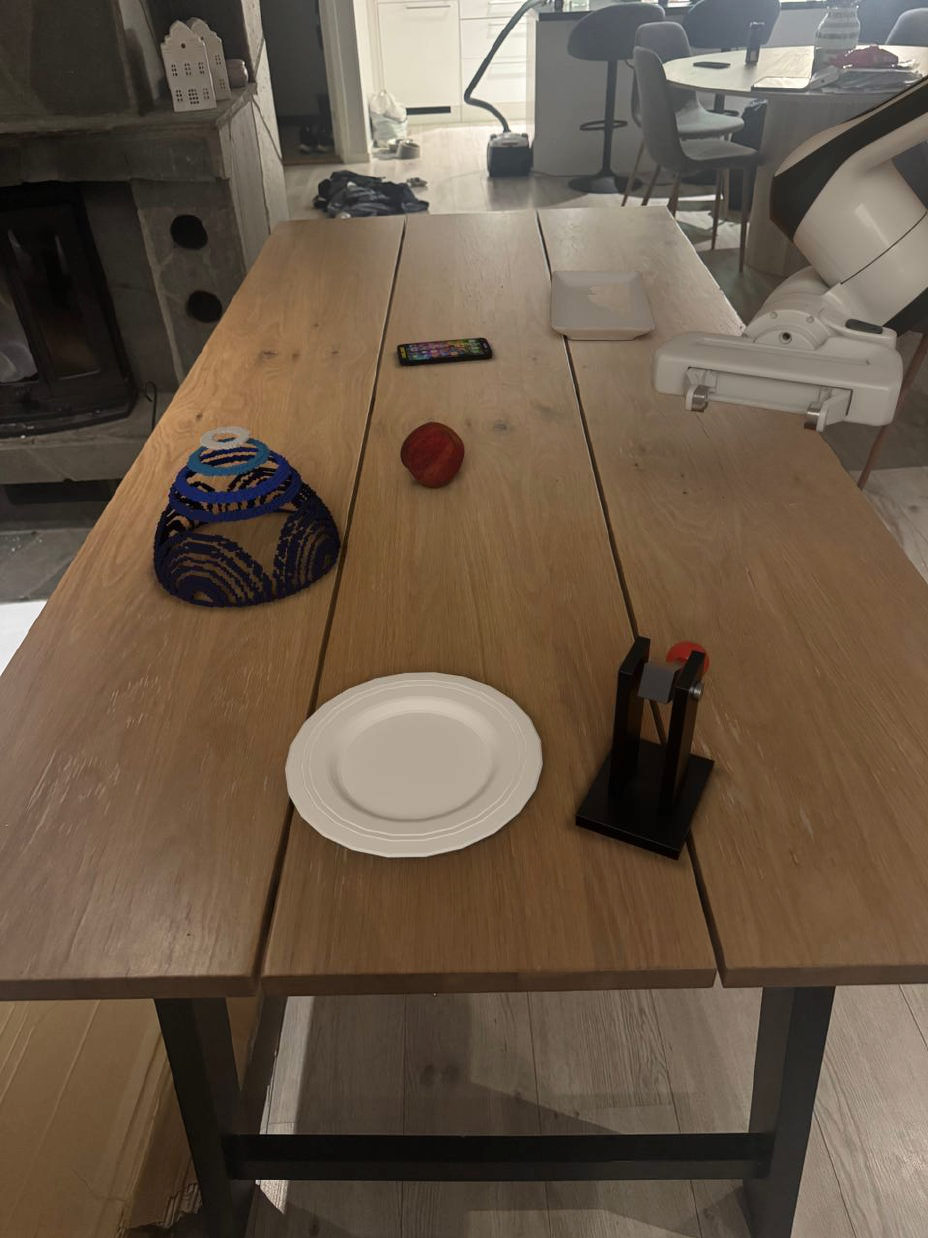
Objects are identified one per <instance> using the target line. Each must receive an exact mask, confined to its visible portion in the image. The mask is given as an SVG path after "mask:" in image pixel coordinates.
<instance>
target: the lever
mask: <svg viewBox="0 0 928 1238" xmlns="http://www.w3.org/2000/svg"><path fill="white" fill-rule="evenodd" d="M692 650H696V651H700V652H703V653H706V656H705V663H704V669H703V676H702V678H703V677H704V676H706V674H707V672H708V670H709V667H710V658H709V657H710V656H709V654H708V652H707V650H706V649H705V648H704V647H703V645H701V644H700V643H698V642H696V641H694V640H682V641H679V642H676V643H675V644H673V645H672V646H671V647H670V648H669V649H668V652H667V654H666V658H665V661H664V660H661V659H657V658H652V659H650V660H649V661H648V662H647V663H645V664H644V667H643V672H642V676H641V680H640V685H639V689H638V693H637V696H638V697H641V698H644V700H645V699H646V700H649V701H652V702H656V703H659V704H663V705H669V704H670V703H671V702H673V694H674V687H675V684H676V682H677V680H678V678H679V676H680V674H681V672H682V670H683V668H684V666H685V664H686V662H687V660H688V658H689V655H690V653H691V651H692Z"/></svg>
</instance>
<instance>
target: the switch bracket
mask: <svg viewBox="0 0 928 1238" xmlns="http://www.w3.org/2000/svg"><path fill="white" fill-rule="evenodd" d="M651 640H652V639H651V638H649V637H645V636H641V635H637V636H636V638H635V640H634V641H633V644H632V646H631V647H630V649H629V650H628V652H627V654H626V656H625V658H624V659H623V660H621V661H620V663H619V665H618V667H617V669H616V689H615V690H616V691H615V701H614V702H615V704H614V715H613V726H612V727H613V728H612V738H611V747H610V749H609V751H608V753H607V755H606V757H605V758H604V761H603V763H602V765H600V769H599V770H598V772H597V774H596V776H595V777H594V779H593V781H592V784H591V785H590V787H589V789H588V792H587V793H586V795H585V796H584V799H583V801H582V802H581V805H580V806H579V808H578V810H577V812H576V814H575V826H577V827H580V828H582V829H586V830H587V831H592V832H594V833H597V834H600V835H603V836H604V837H608V838H611V839H613V840H617V841H620V842H622V843H626V844H628V845H630V846H634V847H637V848H640V849H641V850H642V849H643V850H645V851H648V852H651V853H653V854H657V855H660V856H662V857H664V858H665V857H666V858H668V859H671V860H674V861H677V862H678V861H679V859H680V857H681V854H682V851H683V849H684V846H685V844H686V841H687V838H688V836H689V834H690V831H691V829H692V827H693V824H694V820H695V818H696V815H697V813H698V812H699V811H698V810H699V808H700V806H701V802H702V801H703V798H704V795H705V792H706V790H707V788H708V785H709V782H710V780H711V778H712V775H713V773H714V767H715V762H716V760H714V759H711V758H707V757H704V756H700V755H698V754H694V753H691V752H692V746H693V740H694V733H695V726H696V721H697V713H698V709H699V708H698V707H699V703H700V702H701V700H702V697H703V695H704V691H705V685H706V684H705V682H703V677H704V676H703V669H704V663H705V656H706V653H703V652H700V651H696V650H692V651H691V653H690V655H689V658H688V660H687V662H686V664H685V666H684V668H683V670H682V672H681V674H680V676H679V678H678V680H677V682H676V684H675V687H674V694H673V700H672V701H671V702H672V703H671V710H670V711H671V712H670V717H669V719H670V720H669V724H668V726H669V727H668V732H667V741H666V745H665V744H661V743H658V742H655V741H652V740H648V739H644V738H641V735H642V725H643V716H644V707H645V706H644V705H645V698H641V697H638V696H637V693H638V689H639V685H640V680H641V676H642V672H643V667H644V664H645V663H647V662H649V661H650V660H649V659H650V651H651V642H652V641H651ZM702 676H703V677H702Z"/></svg>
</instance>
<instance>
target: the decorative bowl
mask: <svg viewBox="0 0 928 1238" xmlns="http://www.w3.org/2000/svg"><path fill="white" fill-rule="evenodd" d="M222 434H224V435H225V434H226V435H227V434H234V435H235V436H237V437H235V436H231V437H227V438H224V439H221V438H219V439H218V440H214V438H215V437H217V436H218V435H222ZM251 436H252V431H251V430H248V429H247V428H245V427H243V426H236V425H230V426H225V427H223V426H217V427H216V428H215V429H211V430H208V431H206V432H205V433H204V434H203V435H201V436H200V440H199V445H200V446H199V447H198V448H197V449H196V450H195V451H194V452H192V453H191V454H190V455H189V456H188V458H187V460H188V461H186V463H185V464H186V465H185V466H183V467H182V468H181V469H180V470H179V471H178V472H177V474H176V476H175V481H174V482H172V483H171V486H170V487H169V493H168V494H167V497H168V503H167V505H166V506H165V509H164V510H162V511H161V513H160V514H161V515H160V518H159V521H157V526H156V529H155V532H154V537H153V540H154V541H153V545H152V548H153V553H152V555H153V559H152V561H153V562H152V563H153V569H154V572H155V576H156V578H157V581H158V583H159V584H161V587H162V588H163V590H165V591H166V592H168V593H169V595H170V596H175V597H176V598H177V599H182V601H184V602H188V603H189V604H191V605H196V606H202V607H207V608H214V607H216V608H221V609H223V608H225V607H226V608H232V607H235V608H241V609H242V608H243V607H244V608H245V607H246V606H248V607H252V606H258V605H261V604H265V603H269V604H270V603H271V602H272V603H273V602H274V601H275V600H281V599H285V598H286V597H289V596H293V595H296V594H297V593H298V592H299V593H301V591H302V590H305V589H308V588H309V587H310V586H311V585H312V584H315V583H317V581H318V580H320V581H321V579H322V577H323V576H324V575H328V573H329V572H330V571H331V569H332V568H333V567H334V566H335V564H337V562H338V561H337V559H338V557H339V553H340V550H341V548H342V543H341V540H340V532H339V530H338V526H337V524H336V522H335V519H334V515H332V513H331V510H330V509H329V507H328V506H327V505H326V503H325V502H323V499H322V498H321V497H319V496H318V494H317V491H316V490H314V489H312V487H311V486H310V485H309V483H306V482H304V481H303V479H302V475H301V473H299V471H298V470H297V469H296V467H294V466H292V465H291V464H290V462H289V461H288V459H286V457H285V456H283V454H279V453H278V452H275V451H273V449H270V448H269V447H268V445H267V444H266V442H263V441H260V440H259V439H254V437H251ZM244 444H248V445H252V447H251V446H243V445H244ZM209 449H211V451H210V452H207V453H204V452H206V451H208V450H209ZM235 453H240V454H235ZM242 453H248V454H242ZM250 453H251V454H250ZM252 453H255V454H252ZM228 454H229V455H228ZM231 454H232V455H231ZM223 455H227V456H223ZM230 455H231V456H230ZM219 456H223V457H219ZM215 457H219V458H216V459H214V458H215ZM208 459H210V460H209V461H204V460H208ZM235 462H240V463H239V464H235V465H231V466H230V465H229V466H228V467H227V466H222V465H225V464H228V463H229V464H234V463H235ZM267 462H271V463H272V464H275V465H278V466H276V468H274V467H273V468H272V467H266V466H261V465H264V464H266V463H267ZM197 474H199V475H202V476H203V477H210V478H213V477H220V478H221V477H230V476H234V478H233V479H232V481H231V482H230V483H229V484H228V485H227V488H226V491H223V490H220V491H216V488H214V487H213V486H211V485H209V484H207V483H206V482H202V481H201V480H195V481H193V482H190V483H189V481H188V480H189V478H190V479H192V478H193V477H194V476H195V475H197ZM250 474H251V475H250ZM245 477H247V478H245ZM242 478H243V479H242ZM254 481H255V485H254V486H250V485H251V484H252V483H253V482H254ZM241 482H242V483H241ZM238 483H240V485H239V486H238V487H237V485H238ZM247 486H248V487H247ZM199 487H201V488H199ZM236 488H237V490H235V489H236ZM234 490H235V491H234ZM276 492H278V493H277V494H274V495H273V496H272V498H271V499H270V500H269V501H268V502H267V499H268V496H270V495H272V494H273V493H276ZM281 492H282V493H281ZM257 500H258V502H259V504H258V505H257V504H256V501H257ZM243 502H246V505H245V508H242V506H243ZM202 503H205V504H206V508H205V506H204V505H202ZM233 503H235V504H236V505H237V508H236V509H232V510H229V507H230V506H232V504H233ZM216 504H217V508H218V512H217V513H216V514H214V511H213V509H214V505H216ZM287 504H291V505H293V507H295V509H297V510H293V509H286V508H283V507H285V505H287ZM223 505H225V506H224V511H223V508H222V507H223ZM269 513H270V514H272V513H276V514H277V513H279V514H280V513H287V514H290V515H288V517H287V518H286V521H285V522H284V523H283V527H282V528H281V529H280V536H279V537H278V541H280V542H279V543H277V545H276V546H277V547H276V548H275V550H276V551H277V553H275V554H274V558H273V562H272V565H273V566H272V567H273V570H272V575H271V577H272V579H273V580H275V593H276V594H275V596H274V593H273V587H274V585H273V580H272V579H271V578H270V576H269V574H267V572H264V567H263V565H261V564H260V562H258V560H256V559H253V557H252V555H251V554H249V552H245V551H244V547H243V546H239V545H238V542H237V541H233V540H231V538H227V537H223V535H221V534H214V535H211V534H205V533H199V532H194V531H195V530H196V529H199V528H200V527H201V526H204V525H208V524H209V523H210V524H214V523H221V524H222V523H228V524H229V523H231V522H232V523H236V522H240V521H246V520H251V519H254V518H255V519H256V518H258V517H261V516H262V517H263V516H265V515H266V514H269ZM176 517H181V518H184V519H185V520H186V521H187V522H188V523H189V527H186V526H185V525H184V523H183V522H182V520H180V519H178V518H177V519H175V518H176ZM195 521H196V522H198V523H197V524H195ZM295 521H298V522H297V523H296V522H295ZM315 521H316V523H314V522H315ZM321 527H324V528H323V529H322V530H320V529H321ZM301 528H302V529H301ZM308 529H309V531H308V532H307V530H308ZM294 530H295V533H293V531H294ZM173 531H175V532H174V534H173V535H171V533H172V532H173ZM306 533H307V534H306ZM312 535H313V536H315V538H314V539H313V540H312V541H311V542H310V544H309V550H308V551H307V555H306V558H305V562H304V567H303V568H304V574H303V575H304V581H303V584H302V581H301V575H302V574H301V570H302V567H301V565H302V564H303V563H302V559H304V554H305V550H306V549H305V548H306V547H307V543H308V542H309V538H310V537H311V536H312ZM326 535H329V536H326ZM323 536H324V538H323V539H322V540H321V541H320V542H319V540H320V539H321V538H322V537H323ZM330 536H331V537H330ZM188 538H189V539H191V540H192V541H187V540H188ZM195 541H197V542H195ZM202 542H203V543H202ZM214 542H215V543H216V545H217V547H216V545H215V544H214V545H213V543H214ZM301 542H302V544H301ZM317 542H319V544H318V545H317V546H316V544H317ZM208 543H210V544H208ZM176 544H177V547H176V548H177V549H176V548H175V549H174V550H172V548H173V547H174V546H175V545H176ZM181 544H182V545H181ZM220 547H221V548H222V550H226V551H227V553H234V556H235V558H237V560H238V561H241V562H243V564H245V567H246V569H251V572H249V571H248V572H247V571H246V570H244V568H242V567H241V566H240V565H239V564H238V563H236V561H235V558H234V557H233V556H230V557H228V555H226V554H225V552H222V551H221V548H220ZM313 552H314V555H313ZM190 554H196V555H202V556H209V557H210V559H205V560H202V559H195V558H194V557H193V556H186V555H190ZM180 556H182V557H180ZM328 556H330V557H329V562H328V563H327V564H326V558H327V557H328ZM174 559H175V560H174ZM176 559H177V560H176ZM211 559H212V560H211ZM217 560H219V561H220V563H219V561H217ZM282 560H284V561H282ZM188 561H190V563H193V565H192V566H190V565H184V564H183V563H186V562H188ZM311 562H312V565H311ZM221 563H224V565H225V566H222V564H221ZM170 564H171V565H170ZM180 564H182V565H180ZM197 564H198V565H197ZM206 564H208V565H212V566H213V567H214V568H218V569H219V570H220V571H222V572H223V573H225V575H226V576H228V578H229V579H233V581H234V585H235V586H237V588H239V589H240V593H242V594H243V596H241V595H239V594H238V592H236V590H235V588H233V587H232V583H229V581H228V580H227V579H226V578H225V577H224V576H223V575H219V574H218V573H217V572H216V570H213V569H207V568H204V567H203V566H204V565H206ZM325 564H326V565H325ZM168 565H169V566H168ZM226 566H227V567H228V568H229V569H227V567H226ZM310 566H311V567H310ZM177 567H178V568H177ZM230 570H231V571H230ZM191 571H193V572H199V573H204V574H209V576H203V575H196V574H191V573H190V572H191ZM232 571H233V572H234V574H233V572H232ZM187 572H188V573H190V574H188V575H185V576H184V577H183V578H180V577H181V576H182V575H183V574H187ZM278 572H279V573H278ZM310 572H311V579H309V575H310ZM251 573H252V576H254V578H256V579H257V581H258V583H260V584H261V586H257V585H258V583H257V581H253V579H252V578H251V577H250V576H251ZM235 574H236V575H235ZM295 575H296V576H295ZM237 576H239V579H238V577H237ZM211 577H212V578H211ZM281 577H282V578H281ZM213 579H215V580H217V582H219V583H220V585H219V584H217V583H216V582H214V580H213ZM177 580H178V582H177ZM295 580H296V585H295V584H294V583H293V581H295ZM241 581H242V582H241ZM242 583H244V584H245V585H244V584H242ZM176 584H177V586H176ZM221 585H222V586H223V587H225V589H226V590H228V592H225V590H224V589H223V588H222V586H221ZM245 588H248V591H247V590H245ZM260 589H262V590H260ZM198 592H199V593H203V594H204V596H205V595H206V597H207V598H209V600H211V601H207V600H202V599H197V598H195V597H194V595H195V594H196V593H198ZM248 592H249V593H252V594H253V595H252V598H251V597H249V595H248ZM228 594H229V595H231V597H234V601H235V602H232V601H230V599H229V596H228ZM264 595H265V596H264ZM243 597H244V601H243V602H242V600H243Z"/></svg>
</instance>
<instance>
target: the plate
mask: <svg viewBox="0 0 928 1238" xmlns="http://www.w3.org/2000/svg"><path fill="white" fill-rule="evenodd" d="M542 750H543V749H542V741H541V738H540V736H539V734H538V732H537V730H536V727H535V725H534V723H533V721H532V718H530V717H529V715H528V714H527V713H526V712H525V711H524V710H523V709H522V708H521V707H520V705H518V704H517V702H516V701H515V700H513V699H511V698H510V697H509V696H507V695H505V694H504V693H502V692H500V691H499V690H497V689H496V688H495V687H493V686H491V685H488V684H485V683H483V682H480V681H478V680H475V679H471V678H468V677H466V676H463V675H462V676H460V675H454V674H448V673H441V672H433V671H432V672H403V673H398V674H391V675H388V676H382V677H377V678H373V679H371V680H369V681H366V682H363V683H361V684H358V685H355V686H352V687H350V688H348V689H346V690H344V691H342V692H341V693H339V694H338V695H336V696H334V697H332V698H331V699H329V700H328V701H326V702H325V703H323V704H322V705H321V706H319V707H318V709H317V710H315V712H313V714H311V715H310V716H309V717H308V718H307V719H306V720H305V721H304V722H303V723H302V725H301V727H300V728H299V730H298V732H297V734H296V735H295V737H294V739H293V740H292V742H291V743H290V745H289V750H288V754H287V758H286V763H285V766H284V772H285V779H286V786H287V787H286V788H287V793H288V796H289V798H290V800H291V802H292V803H293V805H294V807H295V808H296V810H297V812H298V814H299V816H300V818H301V819H302V820H303V821H304V822H306V824H308V825H309V826H310V827H311V828H312V829H314V830H315V831H316V833H318V835H321V837H322V838H324V839H326V840H328V841H331V842H332V843H334V844H337V845H338V846H340V847H342V848H345V849H347V850H348V851H351V852H353V853H358V854H362V855H363V854H364V855H369V856H372V857H373V856H374V857H378V858H384V859H388V860H389V859H390V860H391V859H395V860H396V859H427V858H432V857H437V856H440V855H445V854H451V853H454V852H459V851H462V850H465V849H466V848H469V847H471V846H474V845H475V844H478V843H480V842H481V841H484V840H485V839H488V838H490V837H493V836H494V835H495V834H497V833H498V832H499V831H500V830H501V829H503V828H504V827H505V826H507V825H508V824H509V823H510V822H511V821H513V820H514V819H515V818H516V817H518V816H519V815H520V814H521V812H522V811H523V809H524V808H525V806H526V805H527V804H528V803H529V801H530V800H531V798H532V797H533V795H534V794H535V792H536V791H537V786H538V784H539V780H540V777H541V773H542V769H543V766H544V765H543V752H542Z"/></svg>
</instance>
